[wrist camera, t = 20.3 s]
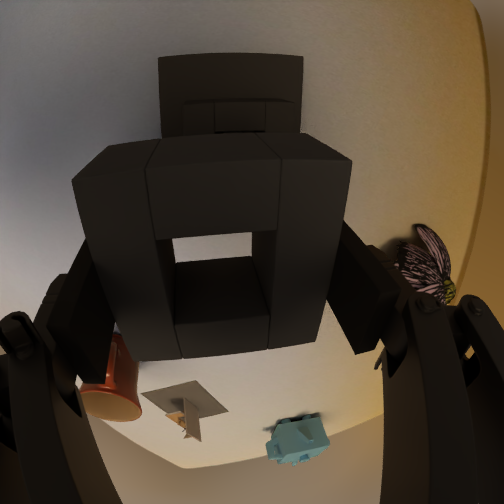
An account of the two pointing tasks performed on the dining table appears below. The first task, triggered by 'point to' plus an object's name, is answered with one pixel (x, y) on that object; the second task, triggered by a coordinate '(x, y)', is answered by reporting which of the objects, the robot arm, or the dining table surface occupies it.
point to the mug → (115, 387)
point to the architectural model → (186, 405)
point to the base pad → (226, 82)
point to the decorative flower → (427, 265)
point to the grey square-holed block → (214, 223)
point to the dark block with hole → (238, 115)
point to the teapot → (297, 440)
